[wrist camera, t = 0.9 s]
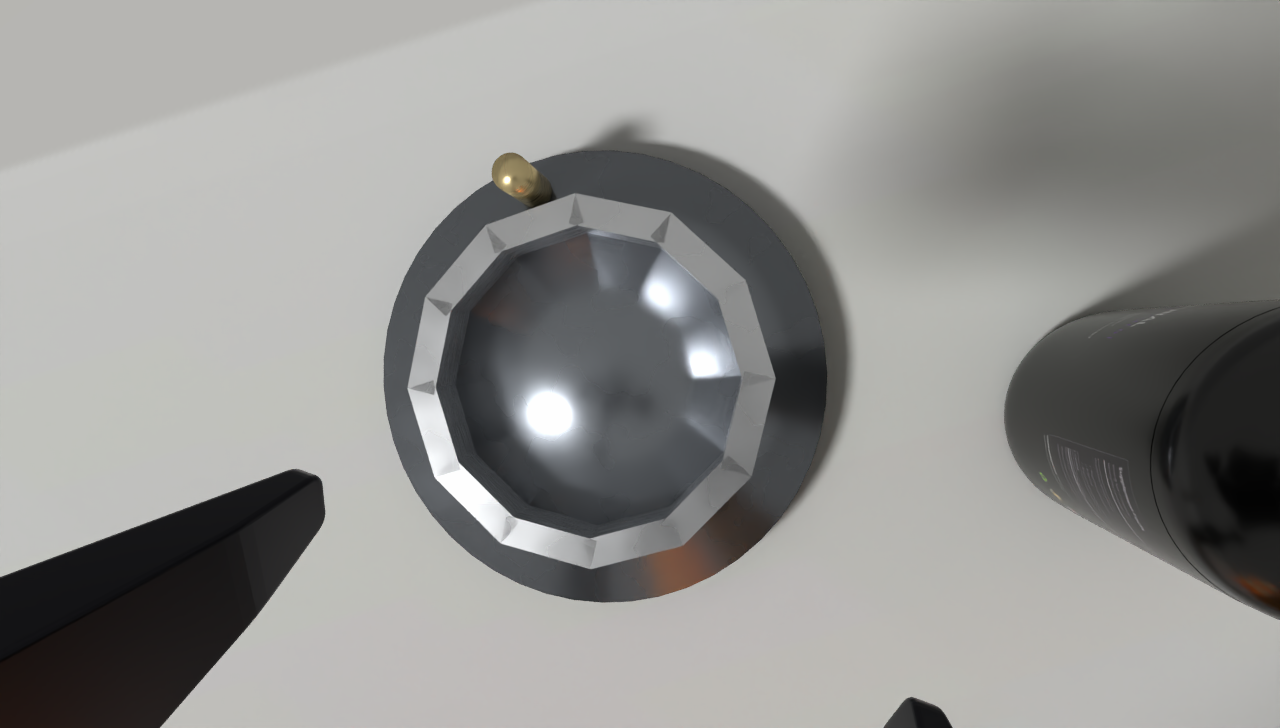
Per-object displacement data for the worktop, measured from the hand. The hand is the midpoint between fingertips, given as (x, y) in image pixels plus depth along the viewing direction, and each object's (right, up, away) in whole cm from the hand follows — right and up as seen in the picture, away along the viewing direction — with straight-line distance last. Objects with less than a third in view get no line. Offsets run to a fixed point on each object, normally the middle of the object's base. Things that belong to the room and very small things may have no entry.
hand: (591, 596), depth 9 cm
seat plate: (-1, +3, +14) cm, 14 cm away
